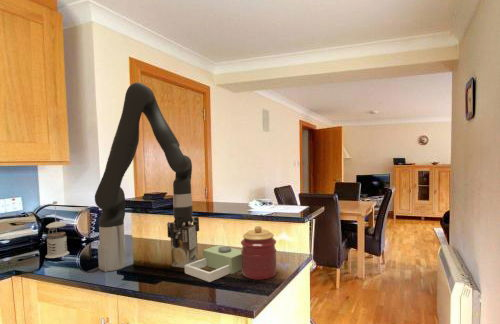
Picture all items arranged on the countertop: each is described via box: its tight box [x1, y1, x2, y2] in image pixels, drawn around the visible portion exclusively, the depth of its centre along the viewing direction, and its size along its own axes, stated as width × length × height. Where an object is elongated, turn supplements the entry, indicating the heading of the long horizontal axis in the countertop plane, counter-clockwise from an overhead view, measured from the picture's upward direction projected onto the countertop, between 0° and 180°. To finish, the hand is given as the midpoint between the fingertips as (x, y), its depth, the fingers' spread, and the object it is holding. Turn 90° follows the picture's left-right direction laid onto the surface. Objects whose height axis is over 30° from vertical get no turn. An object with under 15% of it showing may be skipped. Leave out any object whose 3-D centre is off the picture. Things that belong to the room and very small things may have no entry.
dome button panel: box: [184, 244, 242, 283], centre depth 121 cm, size 19×16×7 cm
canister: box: [240, 225, 278, 281], centre depth 116 cm, size 13×13×18 cm
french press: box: [44, 200, 70, 259], centre depth 148 cm, size 10×12×25 cm
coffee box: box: [170, 224, 199, 269], centre depth 128 cm, size 9×6×16 cm
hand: (184, 245), depth 128 cm, fingers closed on coffee box, 7 cm apart
